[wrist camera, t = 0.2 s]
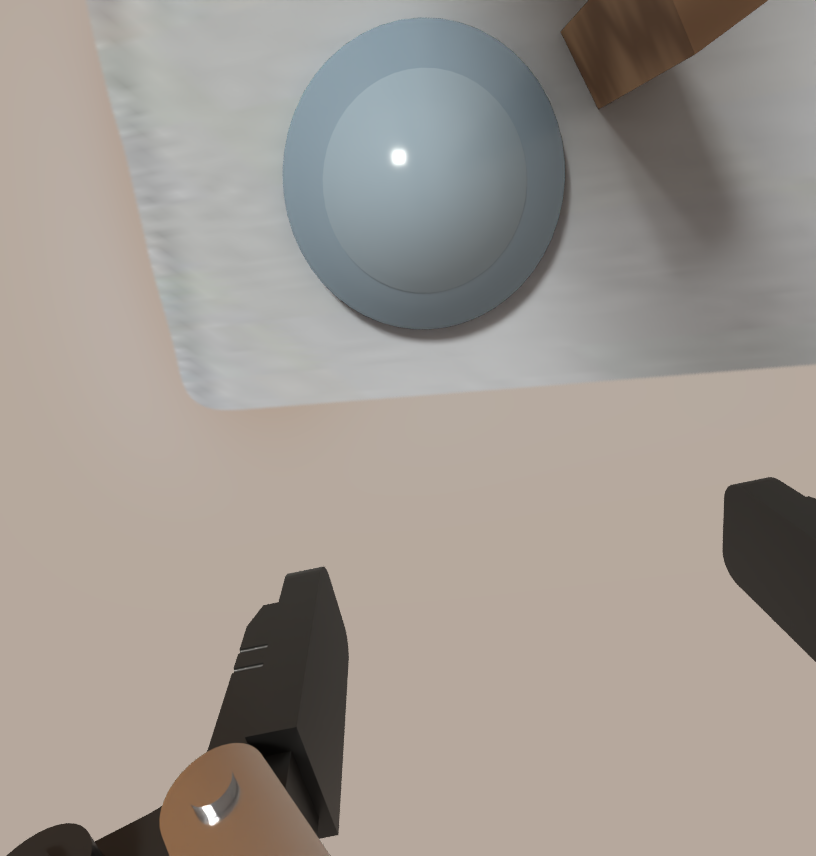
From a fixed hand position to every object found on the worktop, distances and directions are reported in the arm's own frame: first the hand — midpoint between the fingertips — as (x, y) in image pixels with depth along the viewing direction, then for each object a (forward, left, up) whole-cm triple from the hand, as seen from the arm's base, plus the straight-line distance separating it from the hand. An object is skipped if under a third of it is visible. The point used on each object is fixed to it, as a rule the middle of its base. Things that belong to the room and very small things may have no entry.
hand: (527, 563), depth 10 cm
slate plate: (-9, +2, -29) cm, 30 cm away
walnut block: (-15, +15, -29) cm, 36 cm away
